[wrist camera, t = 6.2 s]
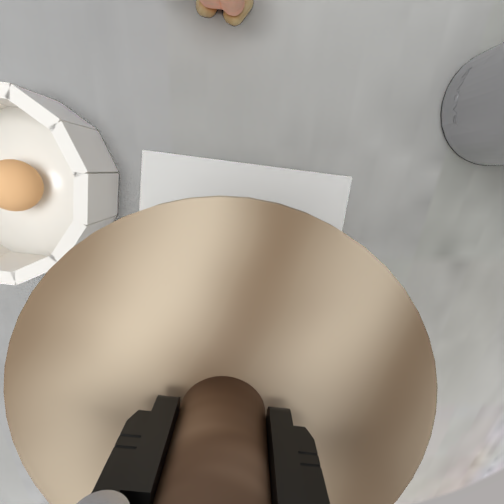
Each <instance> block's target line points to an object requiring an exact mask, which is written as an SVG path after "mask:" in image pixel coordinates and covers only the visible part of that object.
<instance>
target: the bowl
mask: <svg viewBox="0 0 504 504" xmlns="http://www.w3.org/2000/svg"><path fill="white" fill-rule="evenodd" d="M4 159H15V160H20V161H23V162H25V163H27V164H29V165H31V166H32V167H33V168H34V169H35V170H36V171H37V172H38V173H39V174H40V176H41V178H42V180H43V184H44V192H43V195H42V198H41V200H40V201H39V202H38V203H37V204H36V205H35V206H33V207H32V208H30V209H27V210H24V211H8V210H5V209H2V208H0V284H9V285H16V284H17V285H18V284H20V283H23V282H25V281H27V280H30V279H32V278H34V277H37V276H39V275H41V274H44V273H46V272H48V270H49V269H50V268H51V267H52V266H53V265H54V264H55V263H56V262H58V261H59V260H60V259H61V258H62V257H63V256H64V255H65V254H66V253H67V252H68V251H69V250H70V249H71V248H73V247H74V246H75V245H77V244H78V243H80V242H81V241H82V240H84V239H85V238H87V237H88V236H89V235H91V234H92V233H94V232H95V231H97V230H99V229H101V228H103V227H105V226H107V225H109V224H110V223H112V222H113V221H114V220H115V218H116V217H117V216H116V215H117V213H118V188H119V173H117V172H119V171H118V169H117V167H116V165H115V163H114V161H113V159H112V157H111V155H110V153H109V151H108V149H107V147H106V145H105V143H104V141H103V139H102V137H101V135H100V133H99V131H97V129H96V128H94V127H93V126H92V125H90V124H89V123H88V122H86V121H85V120H84V119H82V118H81V117H80V116H78V115H77V114H75V113H74V112H73V111H71V110H70V109H69V108H67V107H66V106H65V105H63V104H62V103H61V102H59V101H56V100H54V99H51V98H48V97H46V96H43V95H40V94H38V93H35V92H32V91H30V90H27V89H24V88H22V87H19V86H16V85H14V84H11V83H6V82H0V160H4Z"/></svg>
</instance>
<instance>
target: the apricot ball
mask: <svg viewBox="0 0 504 504" xmlns="http://www.w3.org/2000/svg"><path fill="white" fill-rule="evenodd" d="M43 192H44V184H43V180H42V178H41V176H40V174H39V173H38V172H37V171H36V170H35V169H34V168H33V167H32V166H31V165H29V164H27V163H25V162H23V161H20V160H15V159H4V160H0V208H2V209H5V210H8V211H24V210H27V209H30V208H32V207H33V206H35V205H36V204H37V203H38V202H39V201H40V200H41V198H42V195H43Z"/></svg>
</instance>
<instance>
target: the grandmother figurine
mask: <svg viewBox="0 0 504 504" xmlns="http://www.w3.org/2000/svg"><path fill="white" fill-rule="evenodd" d="M252 6H253V0H196V9H197V12H198V13H199V14H200V15H201V16H203V17H207V18H210V17H212V16H214V15H215V13H216V11H217V9H222V10H224V12H223V16H224V19H225V21H226V22H227V23H229V24H230V25H232V26H237V25H239V24H240V23H241V22H242V21H243V19H244V18H245V17H246V16H247V14H248V13H249V11H250V10H251V8H252Z"/></svg>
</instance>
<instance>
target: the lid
mask: <svg viewBox="0 0 504 504" xmlns="http://www.w3.org/2000/svg"><path fill="white" fill-rule="evenodd" d="M158 395H164V396H174V397H180V410H179V413H178V417H177V420H176V424H175V427H174V431H173V434H172V438H171V441H170V445H169V448H168V452H167V455H166V459H165V462H164V466H163V469H162V473H161V476H160V480H159V483H158V487H157V490H156V494H155V497H154V501H153V504H272V498H271V484H270V470H269V457H268V443H267V429H266V414H267V409H268V406H269V407H279V408H289V409H290V410H291V415H292V421H293V426H302V427H306V429H307V430H308V431H309V433H310V434H311V436H312V437H313V438H314V440H315V444H316V448H317V452H318V456H319V461H320V467H321V469H322V473H323V477H324V481H325V485H326V489H327V493H328V497H329V501H330V504H394V503H395V502H396V501H397V499H398V498H399V497H400V495H401V494H402V493H403V491H404V490H405V488H406V487H407V485H408V484H409V483H410V481H411V480H412V478H413V476H414V474H415V472H416V470H417V469H418V467H419V465H420V463H421V461H422V459H423V457H424V454H425V451H426V448H427V446H428V443H429V440H430V437H431V434H432V429H433V424H434V419H435V414H436V403H437V377H436V367H435V360H434V356H433V352H432V348H431V344H430V340H429V336H428V334H427V331H426V329H425V326H424V324H423V322H422V319H421V317H420V314H419V312H418V310H417V309H416V307H415V306H414V304H413V302H412V301H411V299H410V297H409V296H408V294H407V292H406V291H405V289H404V288H403V286H402V285H401V284H400V283H399V282H398V280H397V279H396V278H395V277H394V276H393V274H392V273H391V272H390V271H389V270H388V268H387V267H386V266H385V265H384V264H383V263H382V262H380V261H379V260H378V259H377V258H376V257H375V256H374V255H373V254H372V253H371V252H369V251H368V250H367V249H366V248H365V247H364V246H362V245H361V244H359V243H358V242H356V241H355V240H353V239H352V238H350V237H349V236H348V235H346V234H345V233H343V232H342V231H340V230H339V229H337V228H336V227H334V226H332V225H331V224H329V223H327V222H325V221H322V220H320V219H318V218H316V217H314V216H312V215H310V214H308V213H306V212H304V211H301V210H298V209H295V208H292V207H289V206H286V205H283V204H280V203H276V202H271V201H266V200H261V199H255V198H250V197H236V196H220V195H219V196H205V197H191V198H185V199H181V200H176V201H171V202H166V203H161V204H158V205H155V206H153V207H150V208H147V209H144V210H141V211H138V212H136V213H133V214H130V215H127V216H125V217H122V218H120V219H118V220H116V221H114V222H112V223H110V224H109V225H107V226H105V227H103V228H101V229H99V230H97V231H95V232H94V233H92V234H91V235H89V236H88V237H87V238H85V239H84V240H82V241H81V242H80V243H78V244H77V245H75V246H74V247H73V248H71V249H70V250H69V251H68V252H67V253H66V254H65V255H64V256H63V257H62V258H61V259H60V260H59V261H58V262H56V263H55V264H54V265H53V266H52V267H51V268H50V269H49V270H48V272H47V273H46V274H45V276H44V277H43V278H42V280H41V281H40V282H39V283H38V285H37V286H36V287H35V289H34V290H33V291H32V293H31V295H30V296H29V298H28V300H27V302H26V304H25V306H24V307H23V309H22V311H21V313H20V315H19V317H18V319H17V322H16V325H15V328H14V330H13V333H12V336H11V339H10V342H9V347H8V352H7V357H6V362H5V370H4V400H5V409H6V417H7V421H8V425H9V428H10V432H11V436H12V440H13V443H14V445H15V447H16V450H17V452H18V454H19V457H20V459H21V461H22V464H23V465H24V467H25V469H26V470H27V472H28V474H29V476H30V477H31V479H32V481H33V482H34V484H35V485H36V487H37V488H38V489H39V491H40V492H41V493H42V494H43V496H44V497H45V498H46V499H47V501H48V502H49V503H50V504H77V503H78V502H79V501H80V500H81V499H83V498H84V497H86V496H87V495H89V494H91V492H92V491H93V489H94V487H95V485H96V483H97V481H98V478H99V476H100V474H101V472H102V470H103V468H104V466H105V464H106V462H107V460H108V458H109V456H110V454H111V452H112V450H113V448H114V447H115V443H116V441H117V439H118V437H119V436H120V433H121V431H122V429H123V427H124V425H125V423H126V421H127V420H128V419H129V418H130V417H131V416H132V415H133V414H134V413H136V412H137V411H138V410H146V411H151V410H152V408H153V405H154V403H155V400H156V398H157V396H158Z"/></svg>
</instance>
